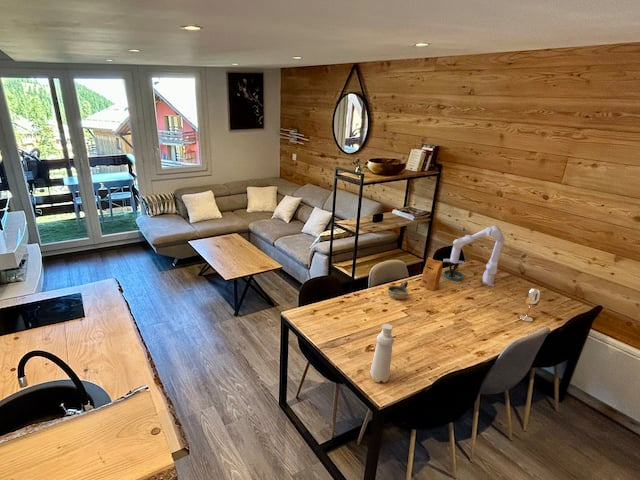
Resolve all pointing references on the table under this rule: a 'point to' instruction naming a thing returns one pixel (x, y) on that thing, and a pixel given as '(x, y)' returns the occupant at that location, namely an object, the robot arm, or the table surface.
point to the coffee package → (431, 274)
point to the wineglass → (531, 302)
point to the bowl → (399, 290)
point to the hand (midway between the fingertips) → (451, 271)
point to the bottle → (382, 355)
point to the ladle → (452, 274)
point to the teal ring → (454, 274)
